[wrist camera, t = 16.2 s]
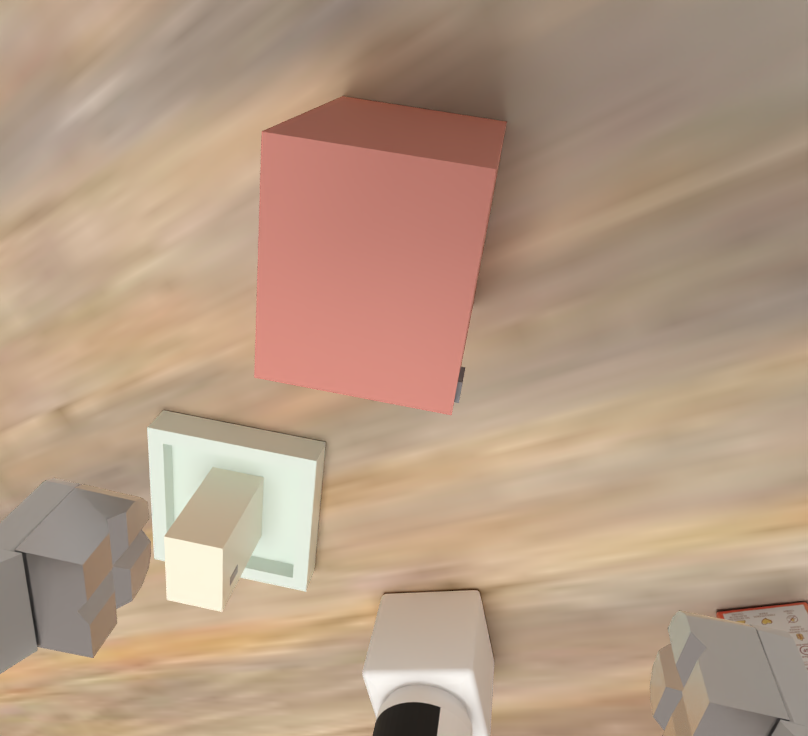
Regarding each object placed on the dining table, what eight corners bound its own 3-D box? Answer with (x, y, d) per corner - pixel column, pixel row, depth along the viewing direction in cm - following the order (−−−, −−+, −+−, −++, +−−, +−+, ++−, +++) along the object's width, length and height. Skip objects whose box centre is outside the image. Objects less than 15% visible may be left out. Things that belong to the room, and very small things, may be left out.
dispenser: (510, 122, 35) (502, 170, 24) (476, 307, 40) (456, 416, 29) (338, 95, 36) (256, 130, 25) (324, 279, 40) (249, 376, 30)
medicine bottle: (401, 663, 53) (369, 823, 43) (381, 591, 50) (341, 744, 40) (495, 661, 52) (486, 827, 41) (479, 587, 49) (466, 745, 38)
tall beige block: (264, 477, 46) (223, 548, 40) (261, 535, 49) (222, 612, 42) (212, 466, 47) (163, 536, 40) (212, 525, 49) (166, 599, 43)
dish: (325, 442, 45) (316, 461, 43) (314, 569, 50) (306, 591, 49) (163, 410, 46) (147, 427, 44) (168, 538, 51) (154, 558, 49)
